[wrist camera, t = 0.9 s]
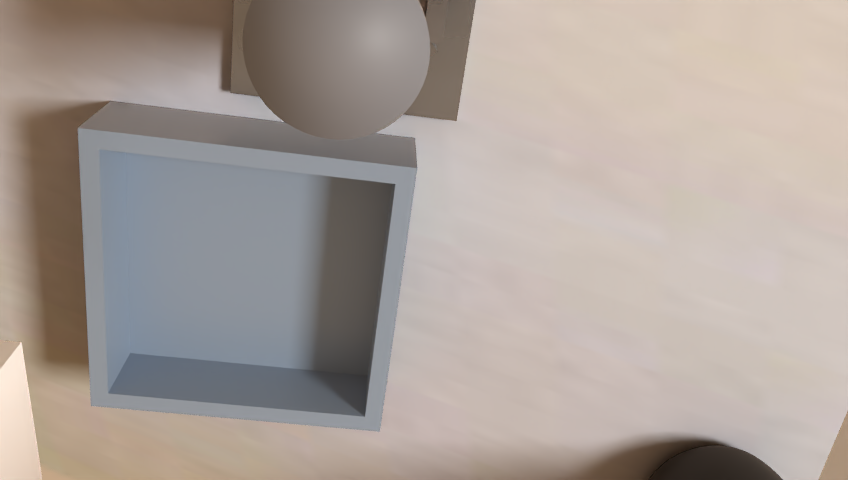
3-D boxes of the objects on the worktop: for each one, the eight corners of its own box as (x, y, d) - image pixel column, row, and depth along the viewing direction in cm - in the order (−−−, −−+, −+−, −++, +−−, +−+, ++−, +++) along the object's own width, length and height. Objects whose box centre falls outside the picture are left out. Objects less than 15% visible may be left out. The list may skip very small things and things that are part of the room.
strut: (297, -86, 32) (246, -63, 21) (426, -68, 32) (443, -35, 21) (289, 44, 34) (238, 127, 23) (410, 60, 34) (417, 149, 23)
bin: (110, 101, 35) (77, 127, 31) (415, 138, 36) (416, 168, 33) (118, 357, 41) (91, 405, 37) (381, 383, 42) (379, 431, 38)
